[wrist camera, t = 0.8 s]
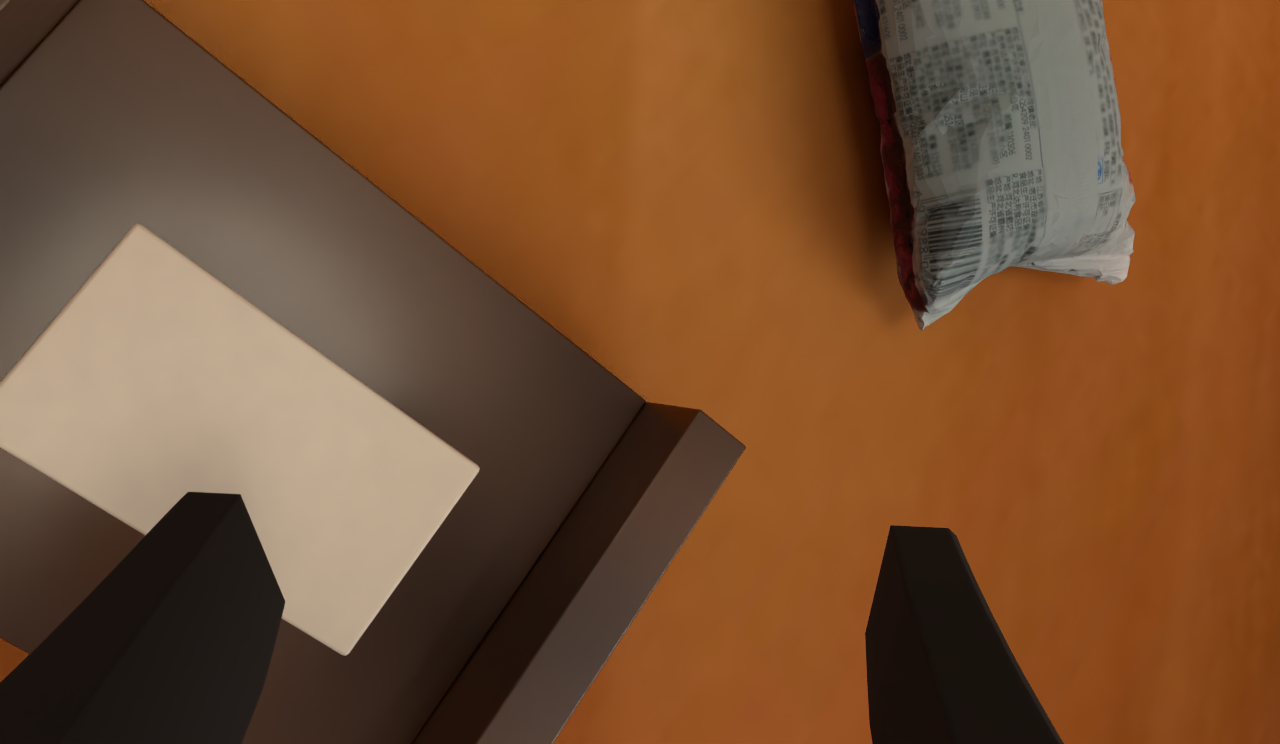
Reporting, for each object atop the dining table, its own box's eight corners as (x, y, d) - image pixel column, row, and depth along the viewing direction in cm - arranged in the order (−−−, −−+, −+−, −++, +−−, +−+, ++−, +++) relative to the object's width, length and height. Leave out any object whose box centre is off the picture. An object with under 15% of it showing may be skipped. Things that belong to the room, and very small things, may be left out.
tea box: (315, 589, 23) (346, 659, 18) (19, 404, 21) (-40, 425, 16) (424, 440, 24) (484, 468, 19) (152, 246, 22) (136, 218, 16)
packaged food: (1029, -72, 34) (1155, -135, 29) (1080, 285, 35) (1207, 278, 31) (803, -54, 31) (905, -121, 26) (867, 337, 32) (975, 338, 28)
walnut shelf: (385, 806, 27) (433, 927, 21) (-346, 397, 21) (-544, 418, 15) (644, 426, 29) (747, 446, 24) (56, -35, 23) (12, -151, 18)
